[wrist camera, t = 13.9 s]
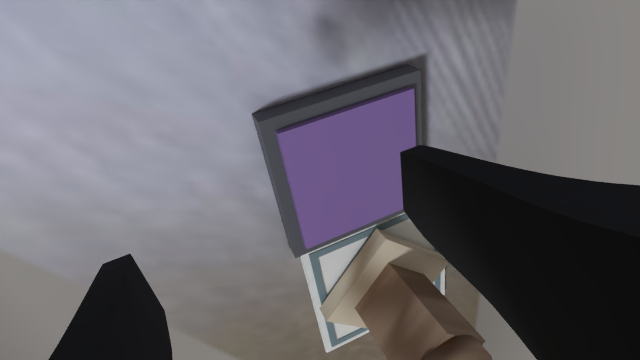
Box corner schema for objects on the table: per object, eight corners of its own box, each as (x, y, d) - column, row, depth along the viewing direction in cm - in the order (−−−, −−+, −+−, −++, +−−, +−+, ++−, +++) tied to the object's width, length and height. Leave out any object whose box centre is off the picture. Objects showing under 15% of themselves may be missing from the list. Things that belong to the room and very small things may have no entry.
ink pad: (407, 64, 22) (425, 71, 20) (412, 195, 27) (427, 207, 25) (251, 113, 19) (260, 125, 18) (289, 246, 24) (297, 262, 23)
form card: (443, 188, 27) (447, 191, 27) (442, 292, 33) (445, 295, 33) (298, 248, 25) (300, 252, 24) (325, 349, 31) (327, 354, 31)
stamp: (374, 225, 26) (464, 326, 19) (435, 250, 30) (529, 340, 23) (317, 305, 27) (383, 425, 21) (383, 318, 31) (456, 422, 25)
